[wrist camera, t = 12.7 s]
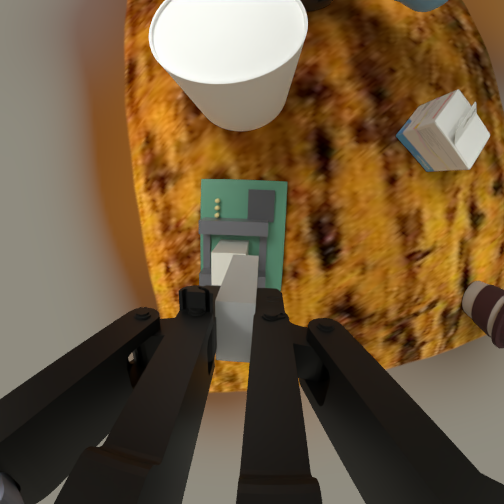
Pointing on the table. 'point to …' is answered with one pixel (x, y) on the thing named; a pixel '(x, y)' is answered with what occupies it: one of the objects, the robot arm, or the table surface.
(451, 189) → the table surface
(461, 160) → the ink box
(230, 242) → the plug
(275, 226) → the board
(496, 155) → the table surface
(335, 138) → the table surface
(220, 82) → the canister
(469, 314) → the coffee cup
